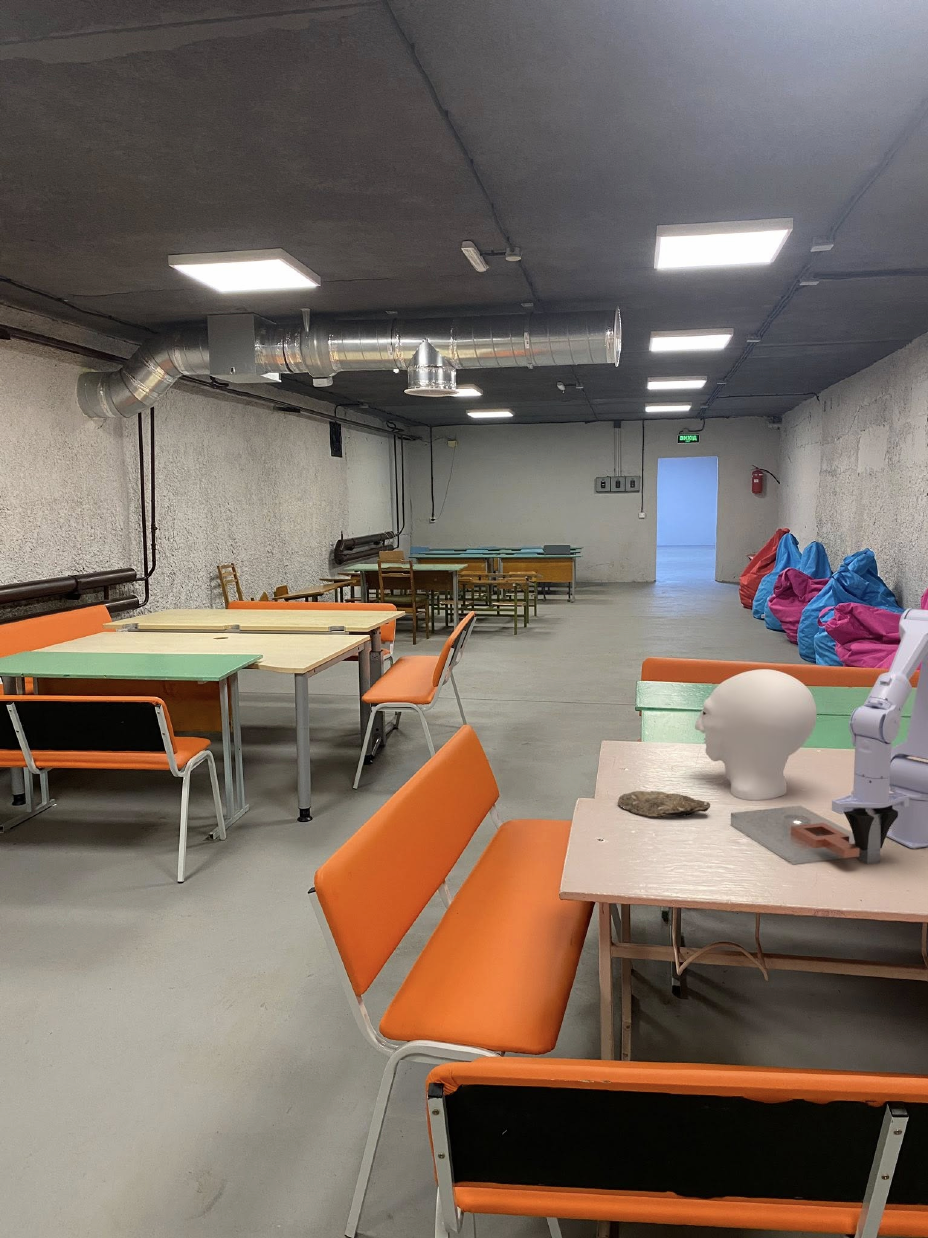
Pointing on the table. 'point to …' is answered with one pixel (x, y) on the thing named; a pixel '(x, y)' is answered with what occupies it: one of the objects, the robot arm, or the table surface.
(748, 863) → the table surface
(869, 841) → the grey rectangular block
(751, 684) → the head sculpture
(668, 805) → the rock
